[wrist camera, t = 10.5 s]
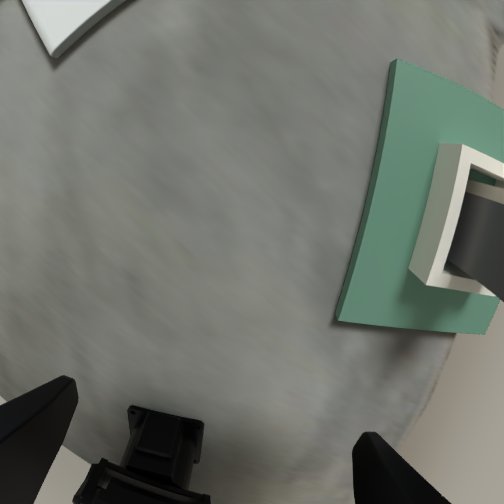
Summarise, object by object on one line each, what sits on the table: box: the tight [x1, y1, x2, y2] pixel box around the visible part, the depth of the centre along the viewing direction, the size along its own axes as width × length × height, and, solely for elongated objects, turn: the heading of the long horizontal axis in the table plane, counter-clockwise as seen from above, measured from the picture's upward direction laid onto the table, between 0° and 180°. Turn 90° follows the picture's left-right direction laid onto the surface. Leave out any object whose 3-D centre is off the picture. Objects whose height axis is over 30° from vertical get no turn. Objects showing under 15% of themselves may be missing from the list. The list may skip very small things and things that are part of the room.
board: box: [335, 59, 504, 335], centre depth 16 cm, size 16×13×4 cm
